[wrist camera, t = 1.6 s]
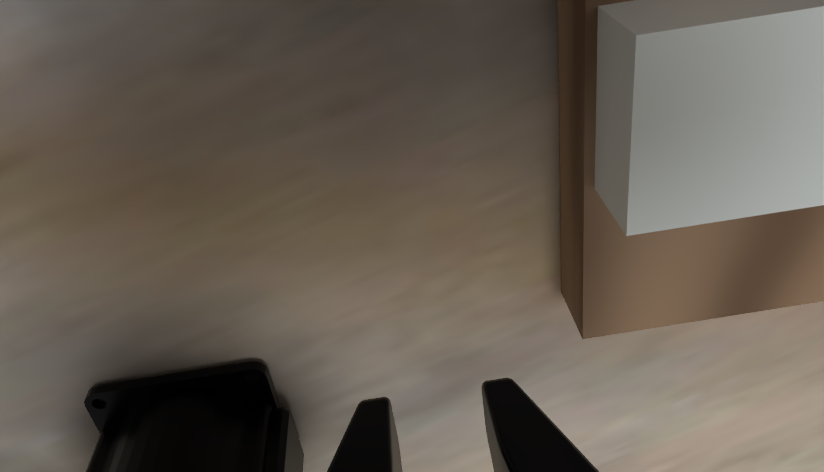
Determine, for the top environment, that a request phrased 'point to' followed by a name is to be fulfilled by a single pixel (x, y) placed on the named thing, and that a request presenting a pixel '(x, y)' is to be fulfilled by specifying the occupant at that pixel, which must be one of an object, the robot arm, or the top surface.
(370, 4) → the top surface
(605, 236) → the flat brown platform
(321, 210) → the top surface
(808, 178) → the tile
